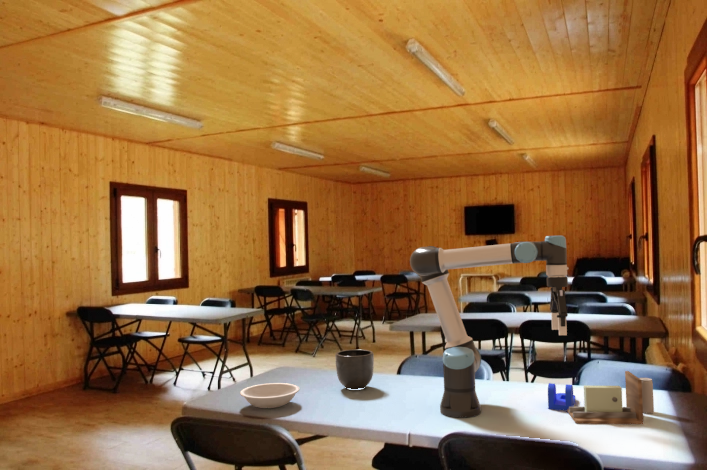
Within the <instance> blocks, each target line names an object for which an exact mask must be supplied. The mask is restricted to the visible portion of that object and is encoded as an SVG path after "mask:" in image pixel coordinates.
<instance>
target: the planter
mask: <svg viewBox="0 0 707 470" xmlns="http://www.w3.org/2000/svg"><path fill="white" fill-rule="evenodd" d="M334 355H335V370H336V375H337V378H338V381H339V382H340V385H342V386H343V387H344V388H345V387H346V388H351V389H358V388H364V387H366V388H367V386H368V385H369V384H370V382H371V381H372V379H373V376H374V367H375V366H374V365H375V360H374V359H375V355H374V352H373V351H372V350H369V349H359V348H358V349H343V350H340V351H337V352H335V354H334ZM346 388H345V389H346Z"/></svg>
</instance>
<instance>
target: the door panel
mask: <svg viewBox="0 0 707 470" xmlns="http://www.w3.org/2000/svg"><path fill="white" fill-rule="evenodd" d="M583 397H584V399H583V400H584V401H583V402H584V403H583V404H584V407H585V412H623V410H622V407H623V389H622V387H621V386H620V385H583Z"/></svg>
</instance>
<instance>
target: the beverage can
mask: <svg viewBox="0 0 707 470" xmlns="http://www.w3.org/2000/svg"><path fill="white" fill-rule="evenodd" d="M638 378H639V379H641V380H642V401H643V414H646V413H647V414H648V415H649V414H653V413H654V412H655V408H654V407H655V406H654V385H653V383H654V382H653V379H652V378H651V377H650V378H649V377H638Z"/></svg>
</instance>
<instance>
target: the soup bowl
mask: <svg viewBox="0 0 707 470" xmlns="http://www.w3.org/2000/svg"><path fill="white" fill-rule="evenodd" d="M299 391H300V386H298V385H296V384H292V383H286V382H285V383H284V382H268V383H260V384H255V385H254V384H253V385H252V386H251V385H250V386H248V387H244V388H243V389H242V390H240V392H239V394H240V395H241V396H242V397H243V398H244V399H245V400H246V401H247V402H248V404H250V405H251V406H253V407H255V408H260V409H274V408H279V407H283V406H285V405H286V404H288V403H290V402H291V401H292V400H293V398H294V397H295V395H297V393H299Z"/></svg>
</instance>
